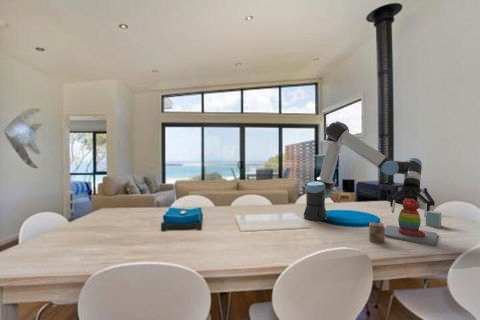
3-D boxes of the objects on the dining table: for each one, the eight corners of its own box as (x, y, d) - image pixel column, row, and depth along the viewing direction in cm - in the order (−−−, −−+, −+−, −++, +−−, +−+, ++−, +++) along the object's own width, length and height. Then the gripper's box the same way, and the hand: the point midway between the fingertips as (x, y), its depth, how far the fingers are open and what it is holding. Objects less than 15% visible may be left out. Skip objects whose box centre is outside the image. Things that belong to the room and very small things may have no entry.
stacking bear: (427, 236, 119) (429, 200, 118) (406, 236, 119) (408, 200, 118) (412, 229, 130) (413, 196, 129) (393, 229, 130) (394, 196, 129)
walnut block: (369, 241, 116) (370, 225, 116) (369, 238, 121) (369, 222, 121) (384, 243, 113) (384, 226, 113) (383, 239, 119) (383, 223, 118)
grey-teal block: (425, 225, 143) (425, 211, 143) (428, 223, 147) (428, 210, 146) (438, 227, 138) (438, 213, 138) (441, 225, 142) (441, 212, 142)
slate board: (380, 235, 124) (380, 233, 124) (387, 227, 139) (387, 224, 139) (435, 246, 110) (435, 243, 110) (436, 235, 125) (436, 232, 125)
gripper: (441, 187, 128) (440, 222, 117) (386, 184, 144) (381, 214, 133) (441, 178, 124) (440, 213, 112) (385, 175, 140) (379, 206, 129)
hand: (408, 213), depth 123 cm, fingers open, 13 cm apart
